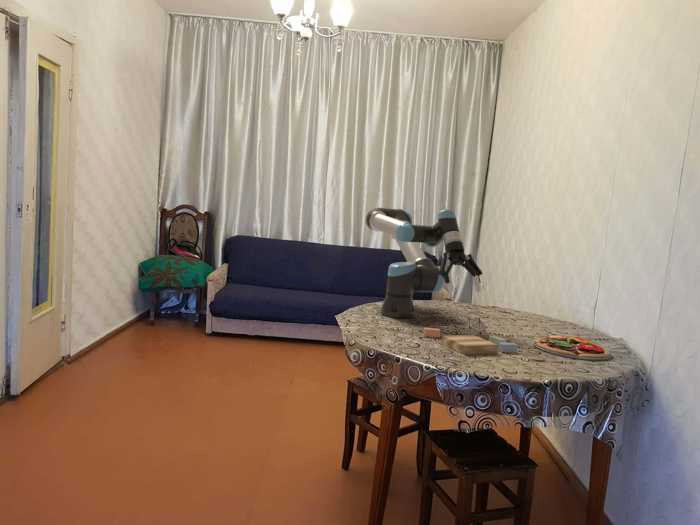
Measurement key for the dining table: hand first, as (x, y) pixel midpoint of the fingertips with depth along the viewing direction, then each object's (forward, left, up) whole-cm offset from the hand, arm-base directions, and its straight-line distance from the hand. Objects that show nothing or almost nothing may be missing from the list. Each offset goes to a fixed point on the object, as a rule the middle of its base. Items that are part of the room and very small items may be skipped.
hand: (465, 291), depth 231 cm
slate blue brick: (+31, -2, -16) cm, 35 cm away
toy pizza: (+33, +27, -17) cm, 46 cm away
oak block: (+26, -15, -16) cm, 34 cm away
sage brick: (+23, 0, -16) cm, 28 cm away
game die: (+13, -3, -16) cm, 21 cm away
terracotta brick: (+8, -19, -16) cm, 26 cm away
